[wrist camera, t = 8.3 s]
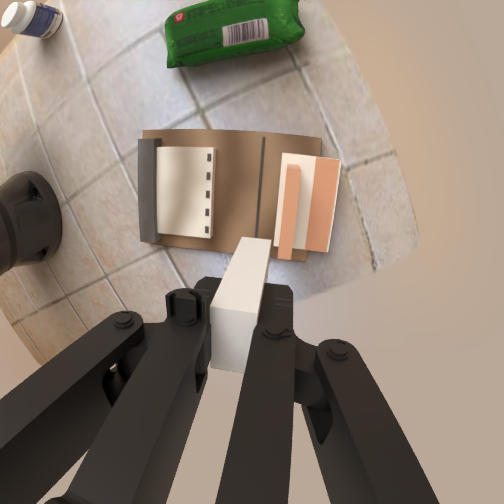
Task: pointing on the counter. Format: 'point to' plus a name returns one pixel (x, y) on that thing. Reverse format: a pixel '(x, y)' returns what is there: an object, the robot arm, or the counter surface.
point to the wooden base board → (213, 186)
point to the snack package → (230, 30)
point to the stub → (306, 203)
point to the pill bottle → (32, 19)
